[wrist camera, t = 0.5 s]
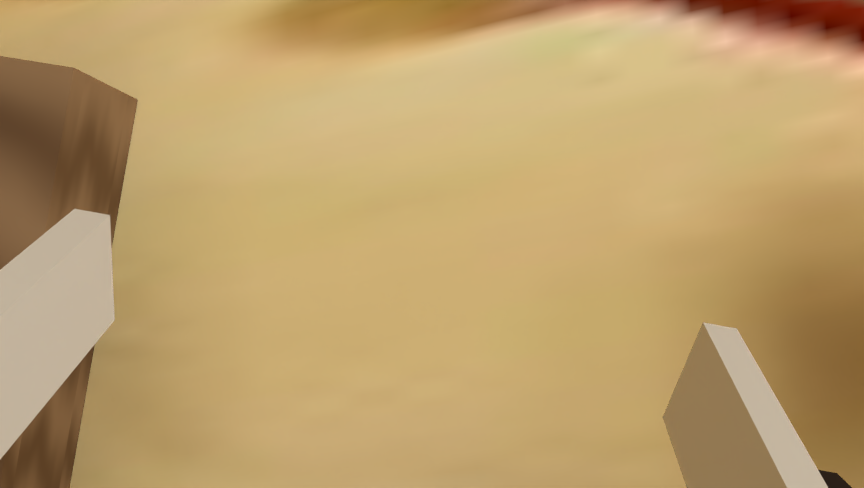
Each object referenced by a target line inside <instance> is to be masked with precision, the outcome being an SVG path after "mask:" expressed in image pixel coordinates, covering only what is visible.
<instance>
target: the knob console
mask: <svg viewBox="0 0 864 488" xmlns="http://www.w3.org/2000/svg"><path fill="white" fill-rule="evenodd" d="M136 106H137V99H135V98H133V97H131V96H129V95H127V94H125V93H123V92H121V91H119V90H117V89H115V88H113V87H111V86H109V85H107V84H105V83H103V82H101V81H99V80H97V79H95V78H93V77H91V76H89V75H87V74H85V73H83V72H81V71H79V70H77V69H75V68H71V67H65V66H59V65H52V64H46V63H40V62H34V61H27V60H21V59H15V58H8V57H2V56H0V270H1V269H2V268H3V267H4V266H5V265H7V264H8V263H9V262H10V261H12V260H13V259H14V258H15V257H16V256H18V255H19V254H20V253H21V252H22V251H24V250H25V249H26V248H27V247H29V246H30V245H31V244H32V243H33V242H35V241H36V240H37V239H38V238H40V237H41V236H42V235H43V234H44V233H46V232H47V231H48V230H49V229H50V228H52V227H53V226H54V225H55V224H57V223H58V222H59V221H60V220H61V219H63V218H64V217H65V216H66V215H68V214H69V213H70V212H71V211H72V210H74V209H79V210H84V211H90V212H95V213H101V214H106V215H110V225H111V248H112V242H113V237H114V231H115V225H116V220H117V214H118V208H119V203H120V197H121V191H122V186H123V180H124V174H125V168H126V163H127V157H128V151H129V146H130V140H131V134H132V129H133V123H134V117H135V112H136ZM93 350H94V346H93V347H92V348H91V350H90V351H89V352H88V353H87V354H86V356H85V357H84V358H83V359H82V361H81V362H80V363H79V364H78V365H77V367H76V368H75V369H74V370H73V372H72V373H71V374H70V375H69V376H68V378H67V379H66V380H65V381H64V382H63V384H62V385H61V386H60V387H59V389H58V390H57V391H56V392H55V393H54V395H53V396H52V397H51V398H50V400H49V401H48V402H47V403H46V404H45V406H44V407H43V408H42V409H41V411H40V412H39V413H38V414H37V415H36V417H35V418H34V419H33V420H32V422H31V423H30V424H29V425H28V426H27V428H26V429H25V430H24V431H23V432H22V434H21V435H20V436H19V437H18V439H17V440H16V441H15V442H14V443H13V445H12V446H11V447H10V448H9V450H8V451H7V452H6V453H5V454H4V456H3V457H2V458H1V459H0V488H69V487H70V481H71V475H72V470H73V464H74V458H75V452H76V447H77V441H78V435H79V430H80V424H81V418H82V413H83V407H84V401H85V396H86V390H87V384H88V379H89V373H90V367H91V362H92V356H93Z"/></svg>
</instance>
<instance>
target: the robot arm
mask: <svg viewBox="0 0 864 488" xmlns="http://www.w3.org/2000/svg"><path fill="white" fill-rule="evenodd" d="M113 322H114V296H113V273H112V249H111V225H110V215H106V214H101V213H95V212H90V211H84V210H79V209H74V210H72V211H71V212H70V213H69V214H68V215H66V216H65V217H64V218H63V219H61V220H60V221H59V222H58V223H57V224H55V225H54V226H53V227H52V228H50V229H49V230H48V231H47V232H46V233H44V234H43V235H42V236H41V237H40V238H38V239H37V240H36V241H35V242H33V243H32V244H31V245H30V246H29V247H27V248H26V249H25V250H24V251H22V252H21V253H20V254H19V255H18V256H16V257H15V258H14V259H13V260H12V261H10V262H9V263H8V264H7V265H5V266H4V267H3V268H2V269H1V270H0V459H1V458H2V457H3V456H4V454H5V453H6V452H7V451H8V450H9V448H10V447H11V446H12V445H13V443H14V442H15V441H16V440H17V439H18V437H19V436H20V435H21V434H22V432H23V431H24V430H25V429H26V428H27V426H28V425H29V424H30V423H31V422H32V420H33V419H34V418H35V417H36V415H37V414H38V413H39V412H40V411H41V409H42V408H43V407H44V406H45V404H46V403H47V402H48V401H49V400H50V398H51V397H52V396H53V395H54V393H55V392H56V391H57V390H58V389H59V387H60V386H61V385H62V384H63V382H64V381H65V380H66V379H67V378H68V376H69V375H70V374H71V373H72V372H73V370H74V369H75V368H76V367H77V365H78V364H79V363H80V362H81V361H82V359H83V358H84V357H85V356H86V354H87V353H88V352H89V351H90V350H91V348H92V347H93V346H94V345H95V343H96V342H97V341H98V340H99V339H100V337H101V336H102V335H103V334H104V333H105V331H106V330H107V329H108V328H109V326H110V325H111V324H112V323H113ZM663 419H664V422H665V425H666V428H667V431H668V434H669V437H670V440H671V443H672V446H673V448H674V451H675V454H676V457H677V460H678V463H679V466H680V469H681V472H682V475H683V478H684V481H685V483H686V486H687V488H852V487H851V486H850V485H848V484H847V483H846V482H845V481H844V480H843V479H842V478H841V477H840V476H839V475H838V474H837V473H832V472H826V471H821V470H818V469H817V467H816V465H815V464H814V462H813V460H812V458H811V457H810V455H809V453H808V452H807V450H806V448H805V446H804V445H803V443H802V441H801V439H800V438H799V436H798V434H797V432H796V431H795V429H794V427H793V425H792V424H791V422H790V420H789V418H788V417H787V415H786V413H785V412H784V410H783V408H782V406H781V405H780V403H779V401H778V399H777V398H776V396H775V394H774V392H773V391H772V389H771V387H770V385H769V384H768V382H767V380H766V379H765V377H764V375H763V373H762V372H761V370H760V368H759V366H758V365H757V363H756V361H755V359H754V358H753V356H752V354H751V352H750V351H749V349H748V347H747V346H746V344H745V342H744V340H743V339H742V337H741V335H740V333H739V332H738V330H737V329H736V328H731V327H725V326H720V325H714V324H709V323H703V324H702V326H701V328H700V331H699V333H698V335H697V338H696V340H695V343H694V345H693V347H692V350H691V352H690V354H689V357H688V359H687V361H686V364H685V366H684V368H683V371H682V373H681V375H680V378H679V380H678V382H677V385H676V387H675V389H674V392H673V394H672V396H671V399H670V401H669V404H668V406H667V408H666V411H665V413H664V415H663Z"/></svg>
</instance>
